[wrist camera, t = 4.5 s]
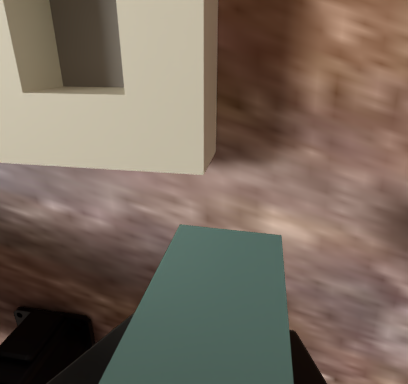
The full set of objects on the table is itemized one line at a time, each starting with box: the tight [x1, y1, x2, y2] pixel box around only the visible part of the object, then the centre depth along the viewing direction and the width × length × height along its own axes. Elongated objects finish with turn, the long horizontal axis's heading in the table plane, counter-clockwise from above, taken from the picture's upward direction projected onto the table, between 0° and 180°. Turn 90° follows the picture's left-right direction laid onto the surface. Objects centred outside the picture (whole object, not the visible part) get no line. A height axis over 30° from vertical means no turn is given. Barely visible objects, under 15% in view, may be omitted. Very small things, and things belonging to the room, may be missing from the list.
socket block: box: [0, 0, 218, 175], centre depth 15 cm, size 12×12×4 cm
